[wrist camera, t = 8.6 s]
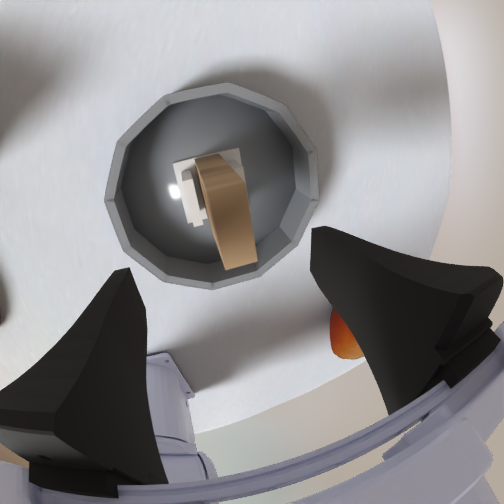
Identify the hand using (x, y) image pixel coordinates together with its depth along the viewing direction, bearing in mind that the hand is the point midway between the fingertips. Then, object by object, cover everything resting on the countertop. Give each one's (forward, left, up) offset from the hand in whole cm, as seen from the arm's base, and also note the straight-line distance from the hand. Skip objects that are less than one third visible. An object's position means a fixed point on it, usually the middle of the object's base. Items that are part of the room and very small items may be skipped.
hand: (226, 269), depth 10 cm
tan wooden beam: (0, -1, -9) cm, 9 cm away
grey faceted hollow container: (0, -1, -10) cm, 10 cm away
